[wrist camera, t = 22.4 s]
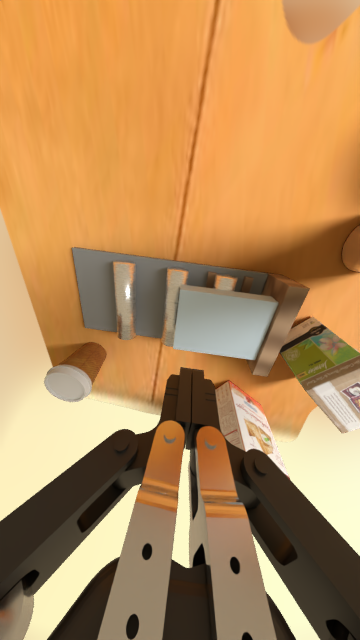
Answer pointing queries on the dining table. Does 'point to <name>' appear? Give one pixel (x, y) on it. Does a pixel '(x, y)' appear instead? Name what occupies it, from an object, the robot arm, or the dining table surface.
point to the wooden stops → (288, 307)
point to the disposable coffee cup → (76, 373)
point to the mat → (139, 287)
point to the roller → (225, 282)
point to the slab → (222, 321)
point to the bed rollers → (127, 300)
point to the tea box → (326, 371)
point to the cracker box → (245, 423)
